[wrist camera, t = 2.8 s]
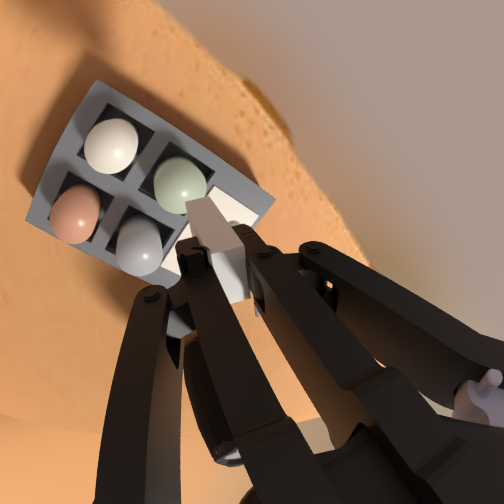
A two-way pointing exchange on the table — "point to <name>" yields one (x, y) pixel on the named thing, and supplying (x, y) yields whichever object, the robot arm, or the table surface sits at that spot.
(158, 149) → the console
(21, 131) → the table surface
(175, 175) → the button sage
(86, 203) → the button terracotta
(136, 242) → the button grey
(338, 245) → the table surface
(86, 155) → the button ivory
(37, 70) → the table surface
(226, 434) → the portable speaker
